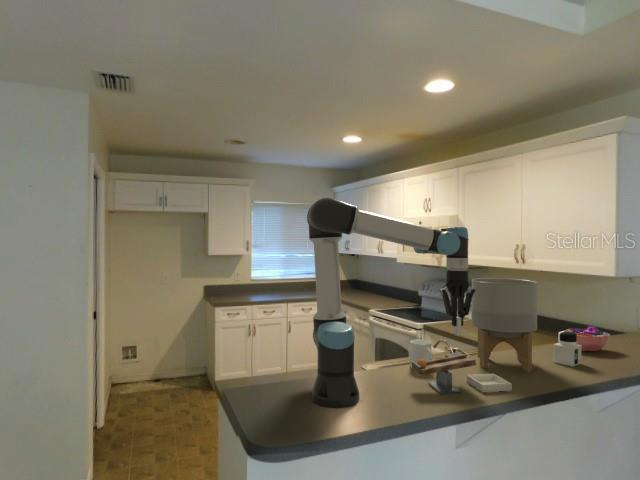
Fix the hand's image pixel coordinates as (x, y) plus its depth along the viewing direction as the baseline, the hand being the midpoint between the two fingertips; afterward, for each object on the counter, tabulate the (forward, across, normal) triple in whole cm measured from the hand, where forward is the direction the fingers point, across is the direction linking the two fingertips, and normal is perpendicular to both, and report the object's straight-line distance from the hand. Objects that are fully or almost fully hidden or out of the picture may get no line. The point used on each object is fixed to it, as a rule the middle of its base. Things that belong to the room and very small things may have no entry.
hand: (457, 334), depth 152 cm
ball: (+8, -16, -7) cm, 19 cm away
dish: (+17, +8, -7) cm, 20 cm away
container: (+18, +56, +15) cm, 61 cm away
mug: (+17, -7, +15) cm, 24 cm away
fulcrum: (+17, -8, -7) cm, 20 cm away
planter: (+17, +29, +18) cm, 38 cm away
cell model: (+18, +80, +33) cm, 88 cm away
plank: (+9, -8, -4) cm, 13 cm away
